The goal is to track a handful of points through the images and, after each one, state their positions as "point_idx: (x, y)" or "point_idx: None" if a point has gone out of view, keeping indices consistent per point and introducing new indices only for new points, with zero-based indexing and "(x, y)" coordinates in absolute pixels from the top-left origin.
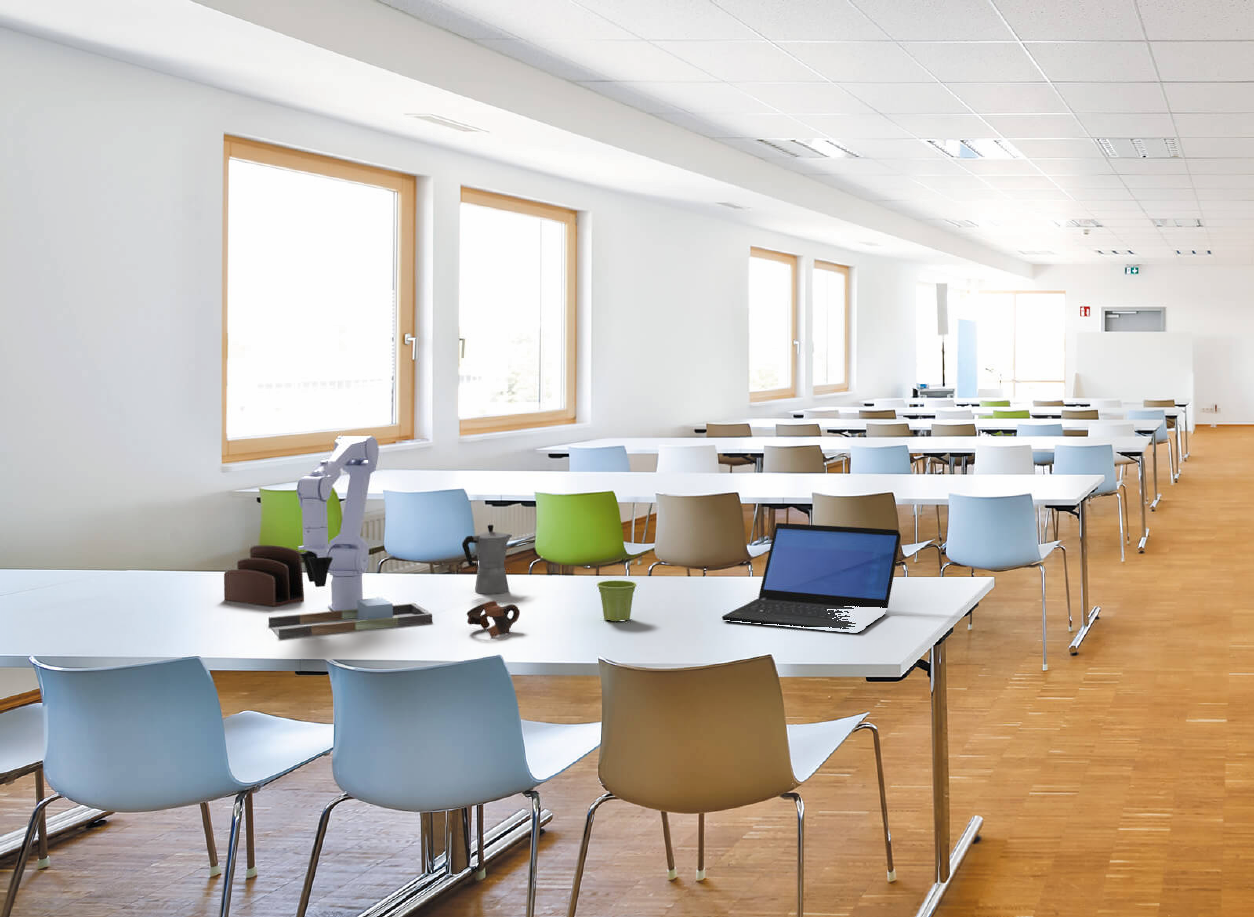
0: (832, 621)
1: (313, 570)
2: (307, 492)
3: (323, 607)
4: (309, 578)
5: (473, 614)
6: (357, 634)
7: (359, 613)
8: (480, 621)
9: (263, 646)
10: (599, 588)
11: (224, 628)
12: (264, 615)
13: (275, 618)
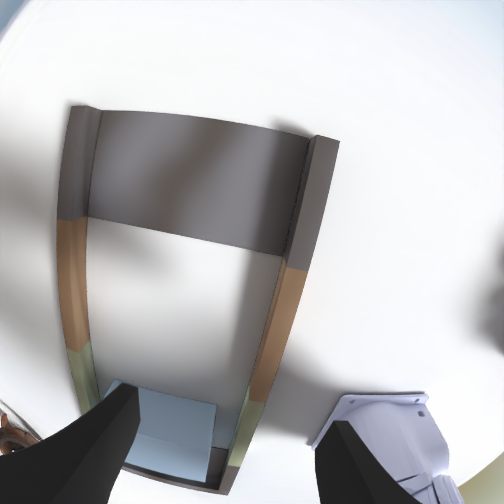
0: None
1: (39, 442)
2: None
3: (435, 383)
4: (338, 435)
5: (1, 432)
6: (42, 314)
7: (193, 416)
8: None
9: (46, 59)
10: None
11: (381, 25)
12: (481, 218)
13: (310, 161)
